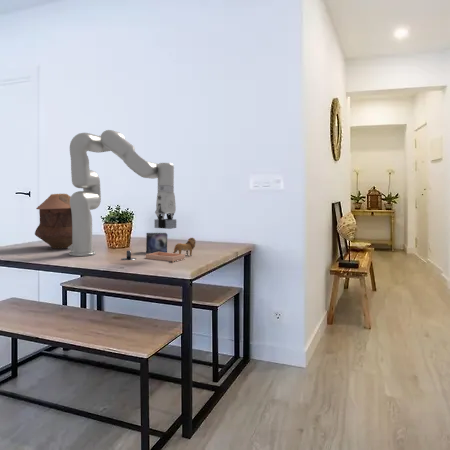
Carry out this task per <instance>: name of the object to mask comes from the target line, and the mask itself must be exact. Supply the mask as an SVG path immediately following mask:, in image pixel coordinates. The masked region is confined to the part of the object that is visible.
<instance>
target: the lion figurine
mask: <svg viewBox="0 0 450 450" xmlns="http://www.w3.org/2000/svg"><path fill="white" fill-rule="evenodd" d="M196 243H197V242H196V239H195V238H194V237H190V238H188V240H187V242H186V243H179V242H178V243H176V244H175V246H174V249H173V252H172V253H177V252H178V254H182V251H184V252H186V253H185V255H186V254H187V255H186V256H189V255H193V254H192V253H193V250H194V249H195V247H196ZM188 254H189V255H188Z"/></svg>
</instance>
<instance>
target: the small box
mask: <svg viewBox="0 0 450 450" xmlns="http://www.w3.org/2000/svg"><path fill="white" fill-rule="evenodd" d="M145 234H146V235H145V236H146V242H145V244H146V245H145V247H146V249H145V252H146V254H150V253H155V252H167V253H168V233H167V232H146V233H145Z"/></svg>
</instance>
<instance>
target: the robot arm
mask: <svg viewBox="0 0 450 450" xmlns="http://www.w3.org/2000/svg"><path fill="white" fill-rule="evenodd" d="M135 149H136V148H135V145H134V144H131V142H129V141H128V140H126V137H125V135H124V134H123V133H121V132H119V131H115V130H112V129H107V130H106V129H105V130H104V131H103V132H102V133H101V134H100V135H98V134H97V135H96V134H92V133H90V132H89V133H88V132H80V133H77V134H76V135H74V136H73V137H72V139H71V141H70V144H69V155H70V174H71V177H70V178H71V183H72V186H73V187H75V188H78V189H82V190H79V191H76V192H74V193H73V194H72V195H70V196H71V197H70V207H71V213H72V245H70V247H68V248H67V249H68V250H70V251H69V252H68V255H69V256H70V257H71V256H73V257H88V256H89V257H90V256H94V255H96V253H97V252H96V251H95V250H93V217H92V212H91V210H96V209H98V208H99V207H100V204H101V201H102V200H101V199H102V198H101V197H102V194H101V180H100V176H99V175H98V173H97V172H96V171H94V170H92V169H90V159H89V156H88V153H87V152H90V153H91V152H92V153H106V152H111V153H113V154H115V156H116V157H118V158H119V159H120V160H122V161H123V163H124V164H125V165H126V166H127V167H128V168H129V169H130V170H131V171H132V172H134V173H135V174H136V175H138V176H140V177H141V178H144V179H157V194H156V208H155V209H156V210H155V212H154V213H155V215H156V217H157V219H158V227H159V228H158V229H164V228H165V220H164V219H165V215H166V219H174V216H175V213H176V207H177V206H176V196H175V192H174V191H175V188H174V187H175V186H174V184H175V181H174V178H175V173H174V172H175V170H174V169H175V167H174V166H175V165H174V164H173V163H171V162H159V163H156V162H151V161H147V160H146V159H144V158H143V157H142V156H141V155H139V154H138V153H137V152H136V150H135Z"/></svg>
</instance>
